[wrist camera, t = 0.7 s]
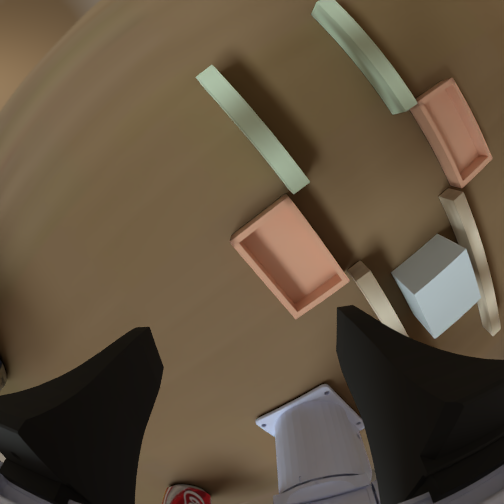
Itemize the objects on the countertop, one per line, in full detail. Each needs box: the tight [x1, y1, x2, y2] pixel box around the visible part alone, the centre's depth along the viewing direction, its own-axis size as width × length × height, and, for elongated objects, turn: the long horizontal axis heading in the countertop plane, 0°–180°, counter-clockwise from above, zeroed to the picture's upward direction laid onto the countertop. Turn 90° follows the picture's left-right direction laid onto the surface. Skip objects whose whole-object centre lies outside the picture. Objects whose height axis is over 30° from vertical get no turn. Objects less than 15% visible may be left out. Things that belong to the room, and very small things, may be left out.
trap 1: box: [230, 194, 349, 319], centre depth 19 cm, size 7×4×2 cm, turn 38°
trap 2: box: [409, 78, 493, 188], centre depth 16 cm, size 7×4×2 cm, turn 39°
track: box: [196, 0, 501, 337], centre depth 18 cm, size 32×10×2 cm, turn 39°
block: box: [391, 234, 481, 339], centre depth 19 cm, size 5×5×4 cm
